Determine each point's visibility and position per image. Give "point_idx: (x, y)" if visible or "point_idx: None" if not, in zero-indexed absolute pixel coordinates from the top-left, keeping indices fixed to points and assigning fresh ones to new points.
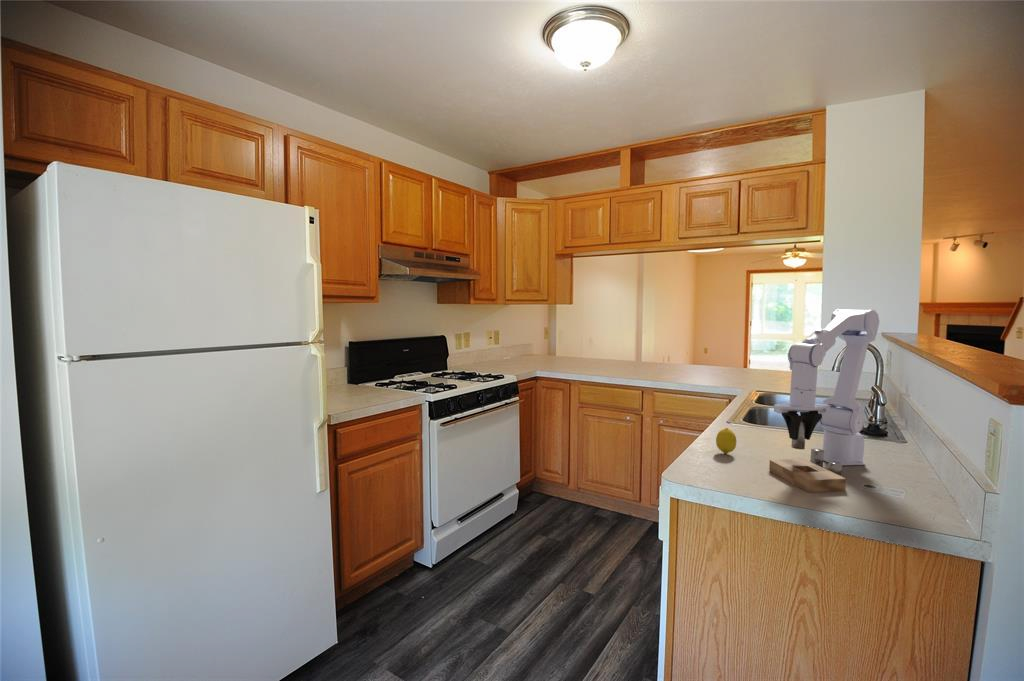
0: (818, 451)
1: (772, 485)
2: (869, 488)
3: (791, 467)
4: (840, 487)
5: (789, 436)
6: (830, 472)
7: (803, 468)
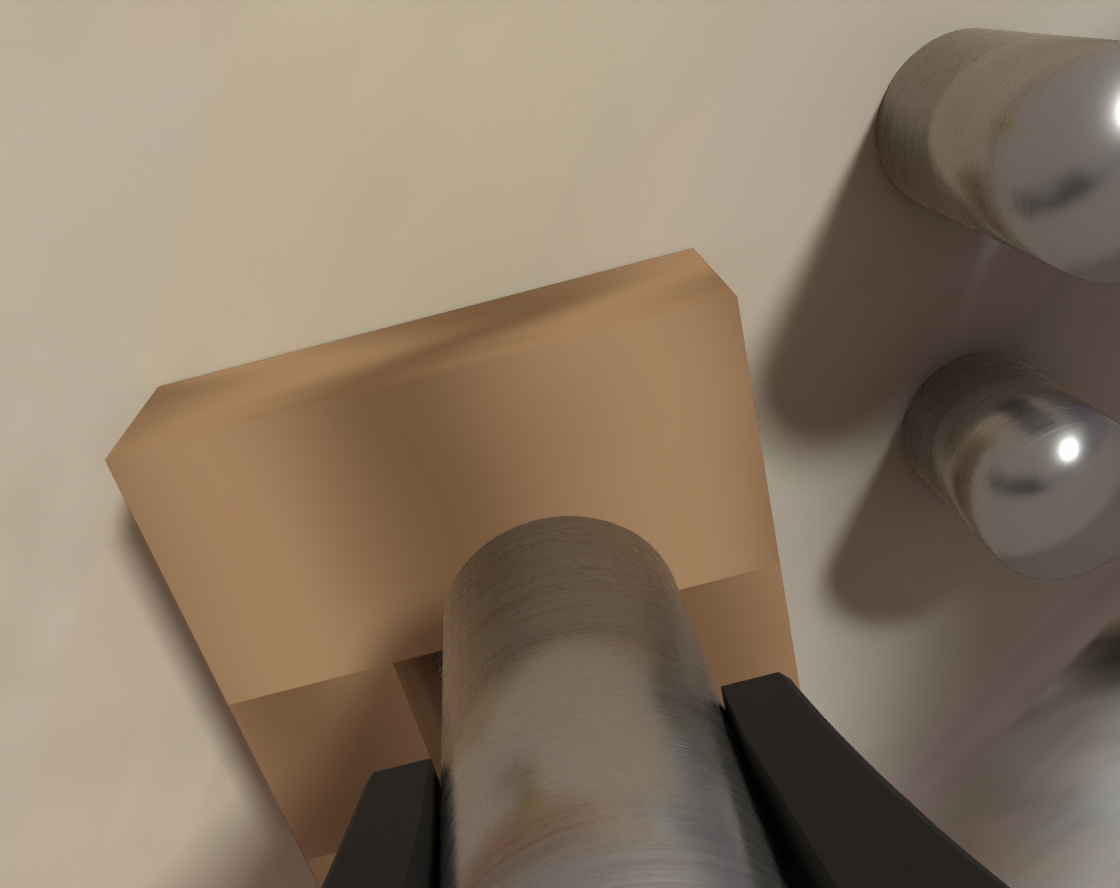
0: (1085, 268)
1: (76, 818)
2: (1076, 709)
3: (345, 710)
4: None
5: (359, 806)
6: None
7: None
